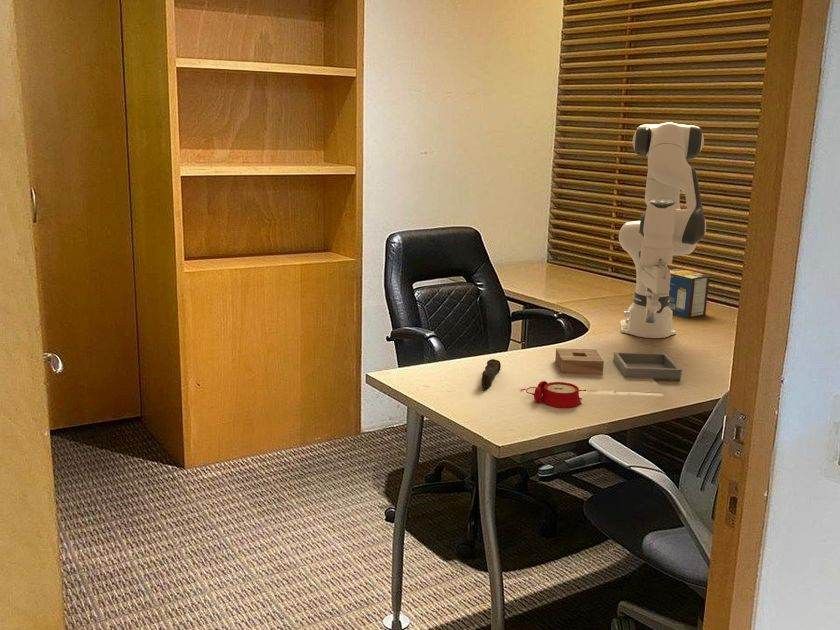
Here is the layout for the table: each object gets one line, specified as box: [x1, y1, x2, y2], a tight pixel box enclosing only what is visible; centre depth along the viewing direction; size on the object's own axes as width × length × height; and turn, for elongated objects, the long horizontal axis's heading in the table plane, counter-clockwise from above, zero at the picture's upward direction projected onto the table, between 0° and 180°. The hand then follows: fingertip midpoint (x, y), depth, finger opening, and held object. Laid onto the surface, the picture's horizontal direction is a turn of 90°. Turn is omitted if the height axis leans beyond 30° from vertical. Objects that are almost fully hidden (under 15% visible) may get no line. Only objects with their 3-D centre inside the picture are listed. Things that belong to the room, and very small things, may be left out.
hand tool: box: [481, 358, 502, 392], centre depth 233 cm, size 19×4×5 cm, turn 164°
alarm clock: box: [525, 380, 587, 409], centre depth 219 cm, size 10×6×15 cm
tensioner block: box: [555, 347, 605, 375], centre depth 244 cm, size 12×12×5 cm
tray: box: [612, 351, 683, 382], centre depth 244 cm, size 16×16×4 cm
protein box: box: [668, 268, 711, 319], centre depth 317 cm, size 10×15×16 cm
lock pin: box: [645, 290, 661, 323], centre depth 240 cm, size 4×4×9 cm
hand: (651, 303), depth 240 cm, fingers closed on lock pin, 3 cm apart
